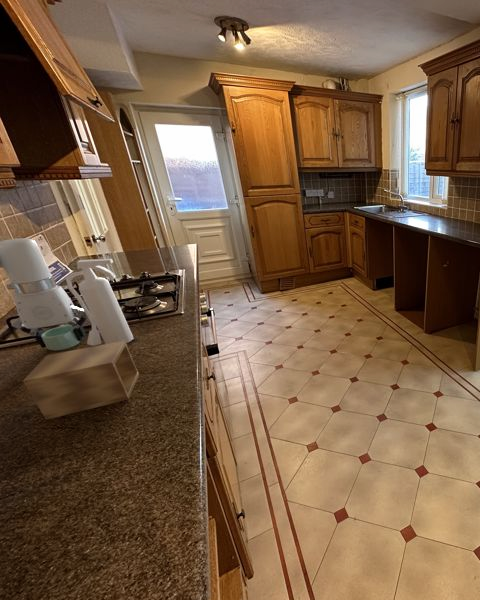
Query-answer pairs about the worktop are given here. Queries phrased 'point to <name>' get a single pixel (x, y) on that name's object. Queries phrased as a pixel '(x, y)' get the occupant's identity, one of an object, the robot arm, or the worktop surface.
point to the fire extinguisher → (100, 303)
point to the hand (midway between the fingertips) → (64, 341)
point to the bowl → (60, 338)
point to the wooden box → (82, 379)
